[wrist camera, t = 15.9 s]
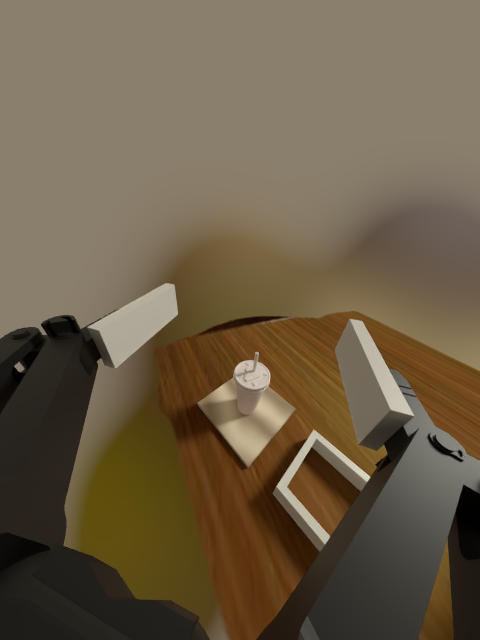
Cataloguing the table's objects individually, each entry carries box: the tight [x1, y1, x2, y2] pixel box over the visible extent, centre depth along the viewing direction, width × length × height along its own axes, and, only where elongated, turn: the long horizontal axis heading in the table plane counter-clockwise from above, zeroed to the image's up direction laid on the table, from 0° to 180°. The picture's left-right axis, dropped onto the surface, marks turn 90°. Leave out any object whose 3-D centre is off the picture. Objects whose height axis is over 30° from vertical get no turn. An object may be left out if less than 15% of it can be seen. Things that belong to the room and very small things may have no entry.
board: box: [198, 378, 295, 468], centre depth 37 cm, size 14×14×1 cm
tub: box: [272, 430, 370, 552], centre depth 26 cm, size 11×11×3 cm
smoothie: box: [233, 352, 270, 415], centre depth 32 cm, size 6×6×14 cm
